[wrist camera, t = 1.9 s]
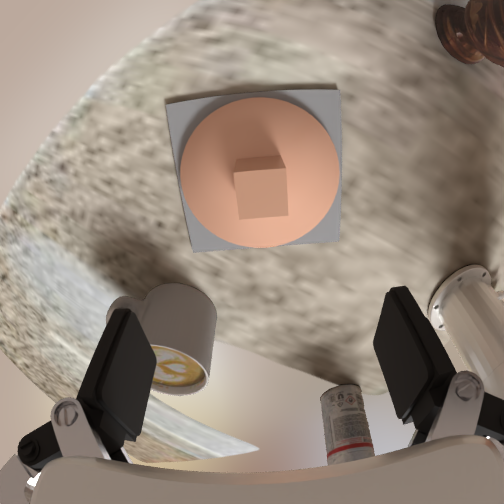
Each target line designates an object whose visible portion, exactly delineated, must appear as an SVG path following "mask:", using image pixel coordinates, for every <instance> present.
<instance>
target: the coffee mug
mask: <svg viewBox="0 0 504 504" xmlns="http://www.w3.org/2000/svg"><path fill="white" fill-rule="evenodd" d="M116 308H129V309H130V310H131V311H132V312H134V313H135V314H136V316H137V318H138V320H139V322H140V325H141V327H142V329H143V331H144V333H145V335H146V337H147V339H148V341H149V343H150V345H151V347H152V349H153V351H154V353H155V355H156V358H157V365H156V369H155V373H154V377H153V381H152V385H151V390H153V391H157V392H159V393H163V394H168V395H178V396H182V395H191V394H195V393H198V392H199V391H201V390H203V389H204V388H205V387H206V386H207V384H208V380H209V375H210V366H211V359H212V350H213V343H214V335H215V328H216V320H217V312H216V309H215V306H214V305H213V303H212V301H211V300H210V299H209V298H208V297H207V296H206V295H205V294H204V293H202V292H201V291H199V290H197V289H195V288H193V287H191V286H188V285H184V284H179V283H167V284H162V285H159V286H157V287H155V288H153V289H152V290H151V291H150V292H149V293H148V294H147V296H146V298H145V299H144V300H139V299H135V298H132V297H128V296H122V297H119V298H117V299H116V300H115V301H114V302H113V303H112V304H111V306H110V308H109V310H108V312H107V315H106V324H107V323H108V321H109V319H110V317H111V315H112V313H113V311H114V309H116Z"/></svg>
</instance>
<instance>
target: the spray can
mask: <svg viewBox="0 0 504 504" xmlns="http://www.w3.org/2000/svg"><path fill="white" fill-rule="evenodd" d="M361 392H362V391H361V389H360V387H359V386H357V385H356V386H355V385H339V386H336V387H334V388H331V389H329V390H327V391H326V392H324V393H323V394H322V396H321V397H320V401H321V405H322V416H323V423H324V432H325V434H324V435H325V441H326V450H327V462H328V466H329V465H335V464H340V463H346V462H351V461H356V460H360V459H365V458H369V457H373V456H375V454H374V448H373V444H372V439H371V436H370V430H369V428H368V427H369V425H368V422H367V418H366V414H365V410H364V402H363V398H362V395H361Z"/></svg>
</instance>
